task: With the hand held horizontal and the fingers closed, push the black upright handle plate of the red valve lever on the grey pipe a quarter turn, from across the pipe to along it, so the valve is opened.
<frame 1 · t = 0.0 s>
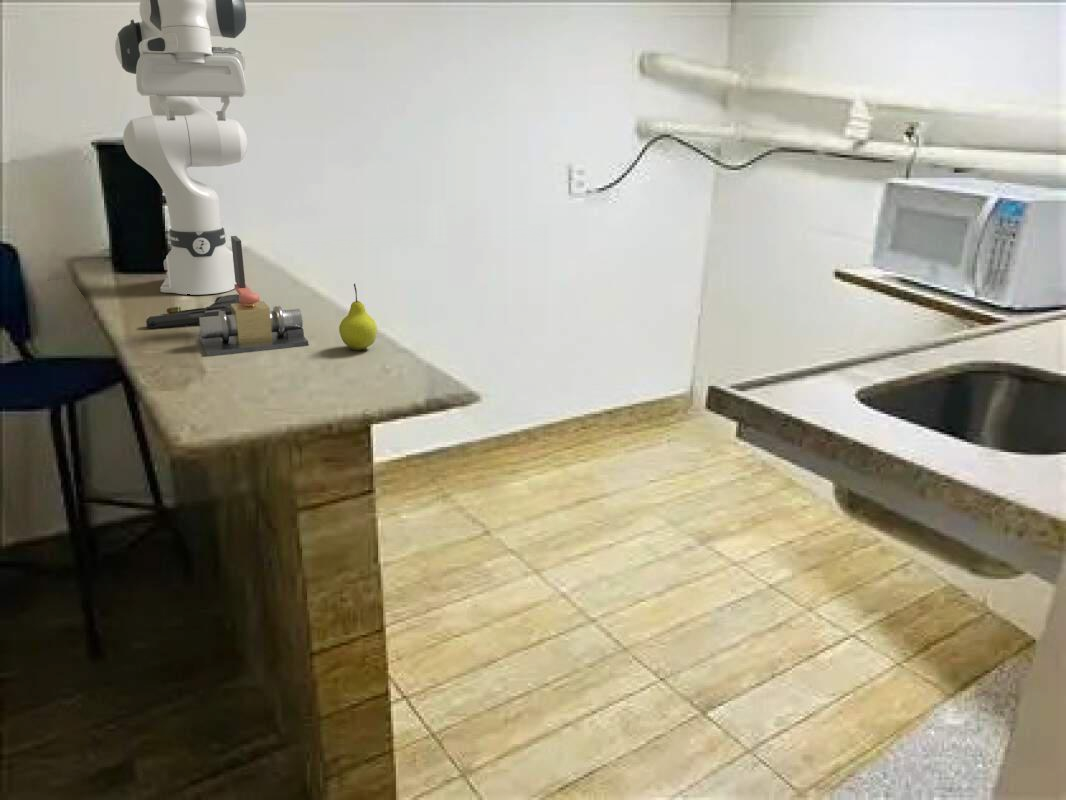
hand: (196, 120, 170), 39 cm above the worktop, tool pointing down, fingers open, 8 cm apart
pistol: (199, 320, 178), on the worktop
lever: (242, 268, 162), point 13 cm above the worktop, hinge at 0.0°
fruit: (359, 350, 159), on the worktop
valve: (253, 342, 162), on the worktop
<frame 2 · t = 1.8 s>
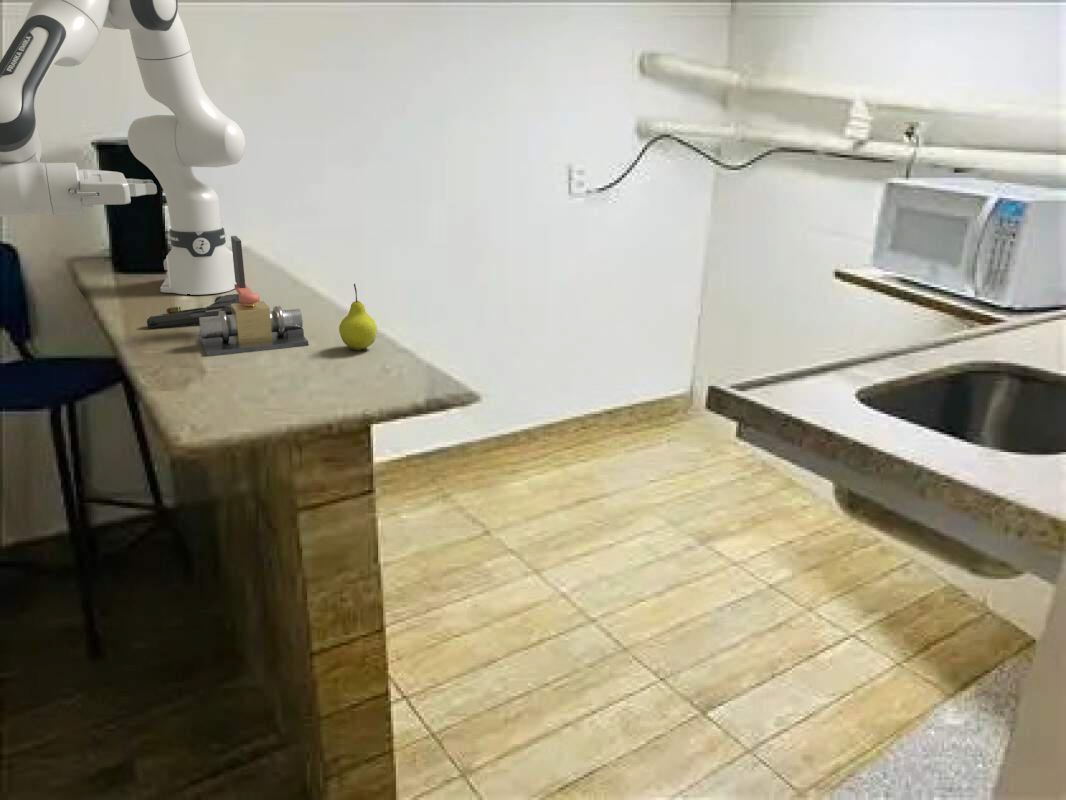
hand: (155, 186, 155), 28 cm above the worktop, tool horizontal, fingers open, 5 cm apart
nothing on the worktop moved.
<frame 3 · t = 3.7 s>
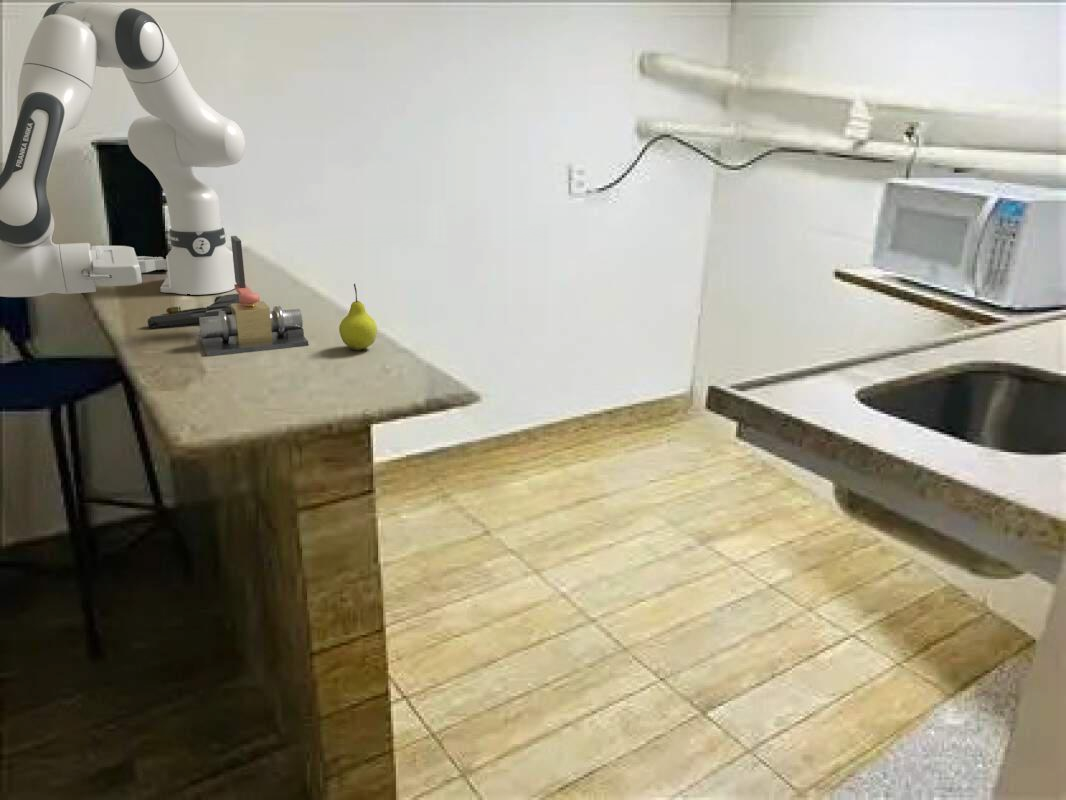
hand: (165, 262, 160), 14 cm above the worktop, tool horizontal, fingers closed
nothing on the worktop moved.
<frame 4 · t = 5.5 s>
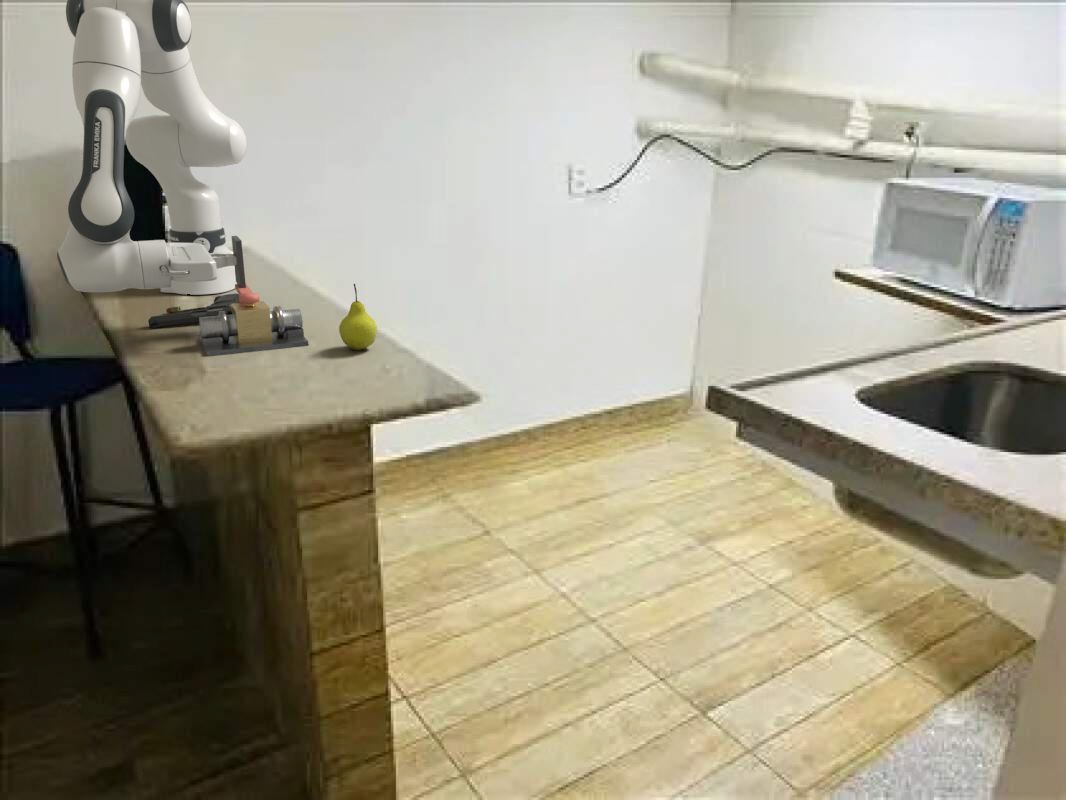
hand: (235, 259, 165), 14 cm above the worktop, tool horizontal, fingers closed, pressing on lever
lever: (242, 268, 162), point 13 cm above the worktop, hinge at 0.6°, touching gripper
everything else where it was.
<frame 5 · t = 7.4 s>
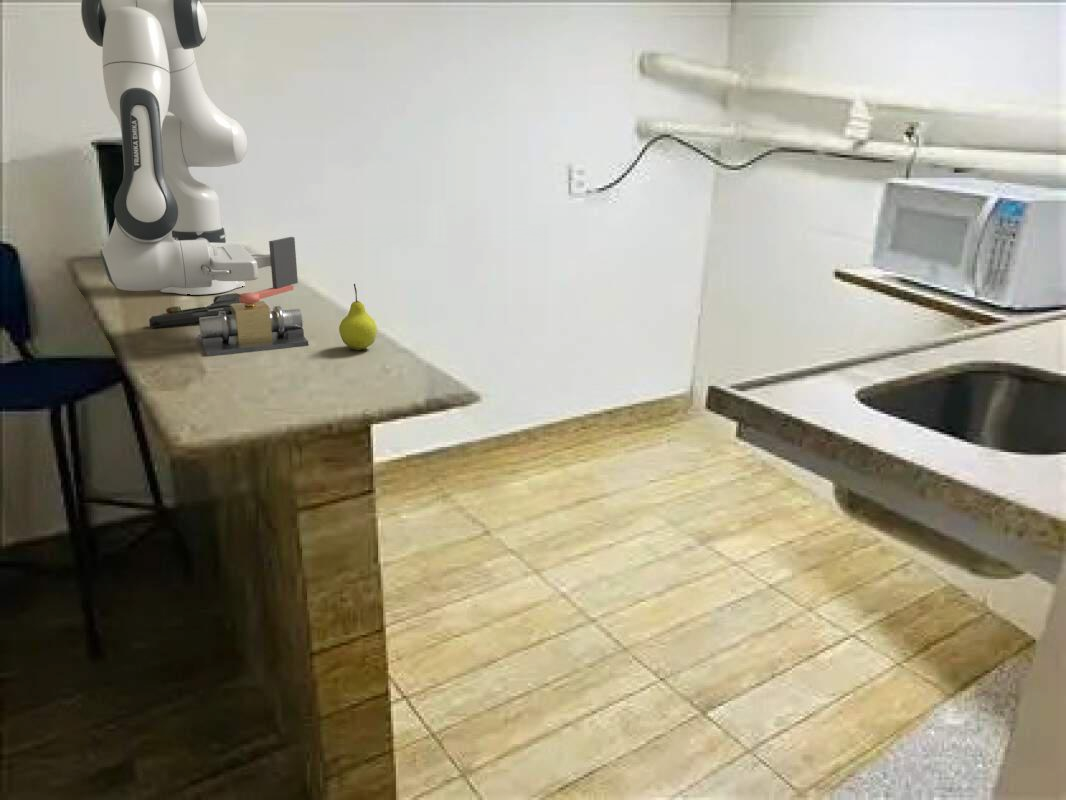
hand: (275, 259, 166), 14 cm above the worktop, tool horizontal, fingers closed
lever: (268, 269, 162), point 13 cm above the worktop, hinge at 52.3°, touching gripper
everything else where it was.
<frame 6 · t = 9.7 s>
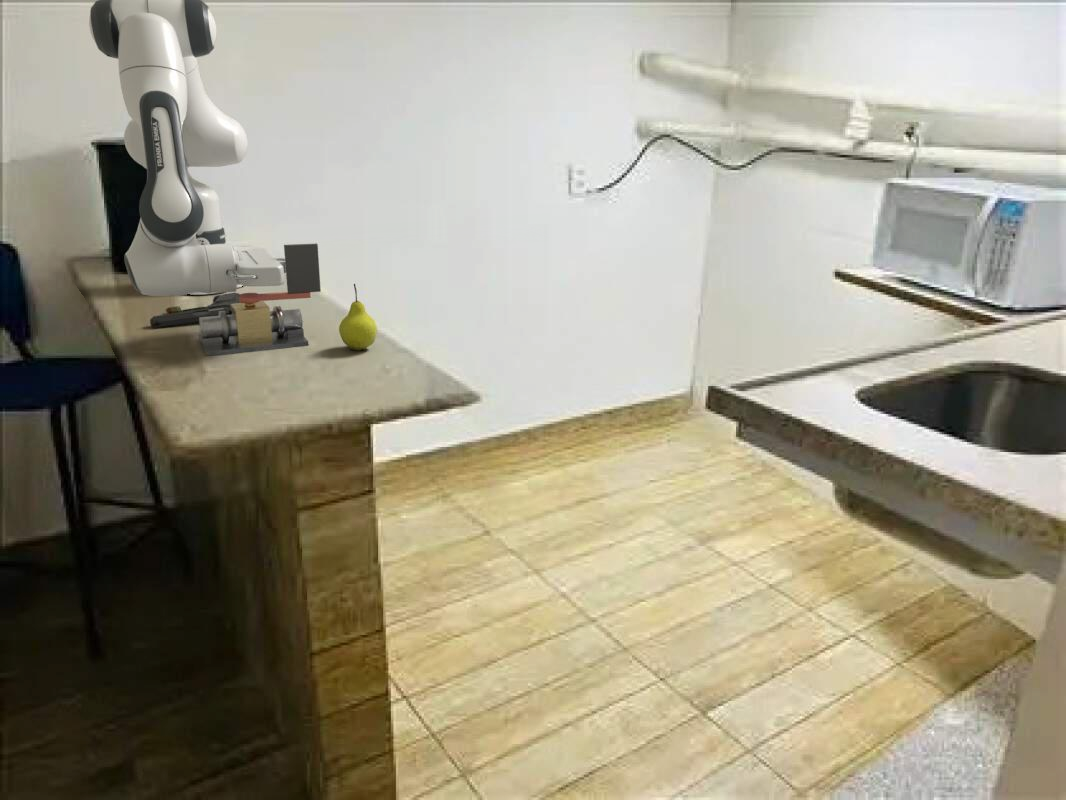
hand: (299, 264, 163), 14 cm above the worktop, tool horizontal, fingers closed
lever: (278, 272, 159), point 13 cm above the worktop, hinge at 95.2°
everything else where it was.
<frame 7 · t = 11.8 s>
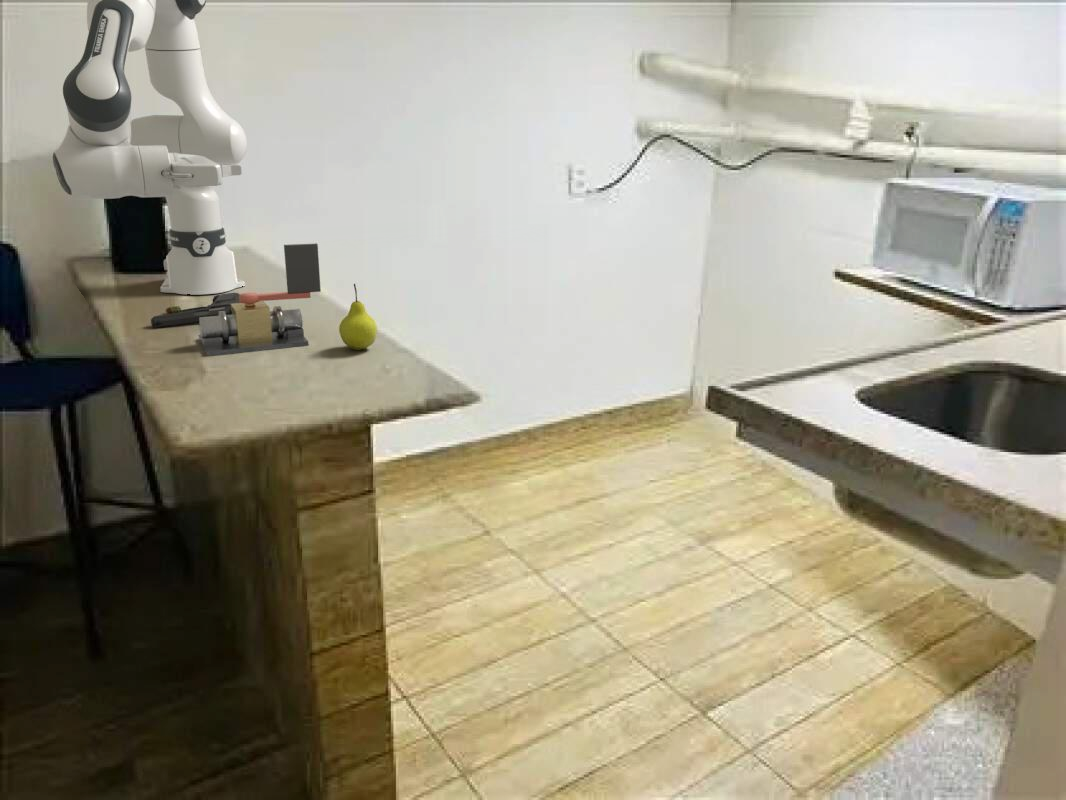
hand: (240, 169, 158), 31 cm above the worktop, tool horizontal, fingers closed
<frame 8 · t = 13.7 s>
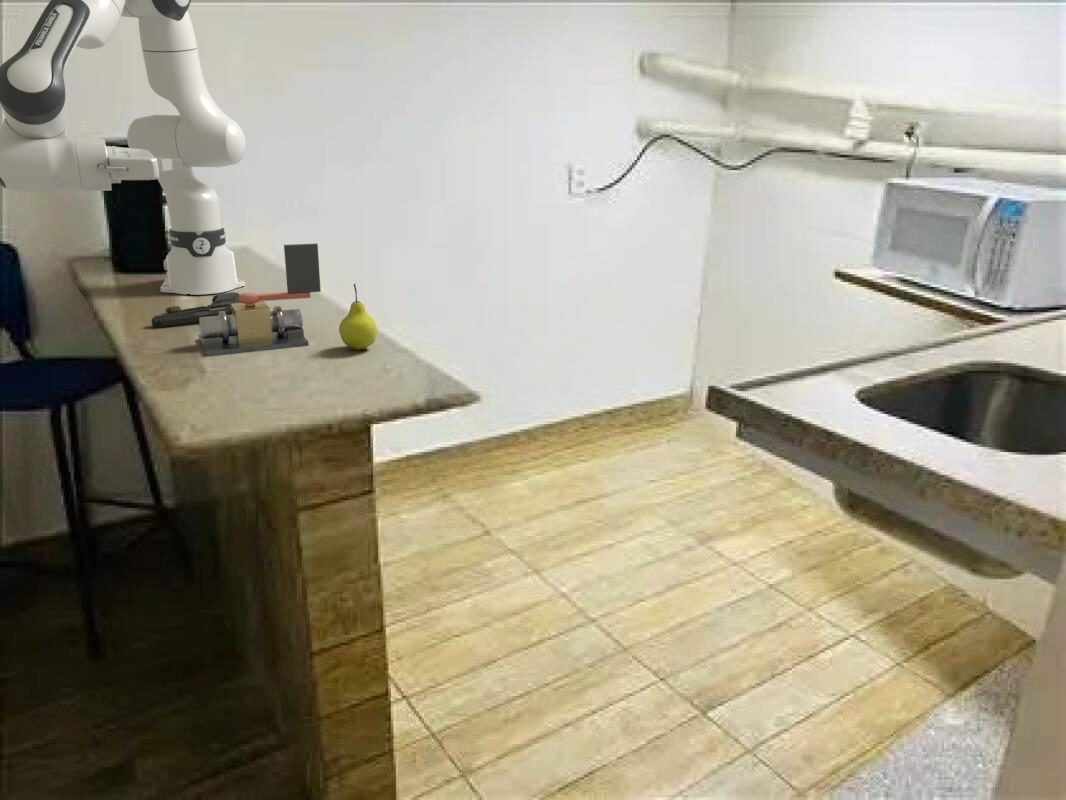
hand: (182, 163, 156), 32 cm above the worktop, tool horizontal, fingers closed
at the end: lever at +95° (first picture: +0°); the gripper is holding nothing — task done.
